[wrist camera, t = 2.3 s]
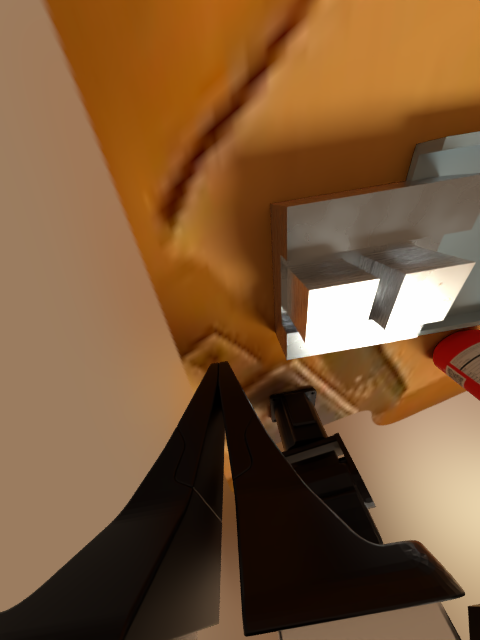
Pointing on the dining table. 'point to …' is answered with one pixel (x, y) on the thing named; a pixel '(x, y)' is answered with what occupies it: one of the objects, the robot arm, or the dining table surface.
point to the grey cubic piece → (329, 299)
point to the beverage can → (461, 359)
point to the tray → (474, 245)
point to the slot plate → (364, 240)
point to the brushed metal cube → (414, 285)
